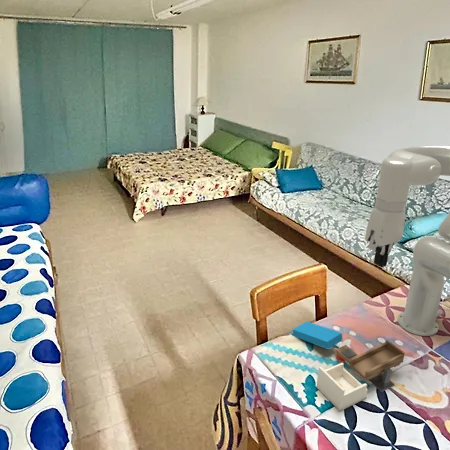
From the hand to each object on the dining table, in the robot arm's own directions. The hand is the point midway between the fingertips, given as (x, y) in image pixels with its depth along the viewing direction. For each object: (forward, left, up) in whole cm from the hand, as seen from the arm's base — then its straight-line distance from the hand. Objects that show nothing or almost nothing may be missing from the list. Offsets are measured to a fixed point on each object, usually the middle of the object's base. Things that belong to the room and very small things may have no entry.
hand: (379, 264), depth 113 cm
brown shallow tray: (+7, +7, -26) cm, 28 cm away
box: (+20, +11, -29) cm, 37 cm away
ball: (+22, +11, -27) cm, 36 cm away
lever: (+12, -7, -30) cm, 33 cm away
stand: (+8, +11, -29) cm, 32 cm away
